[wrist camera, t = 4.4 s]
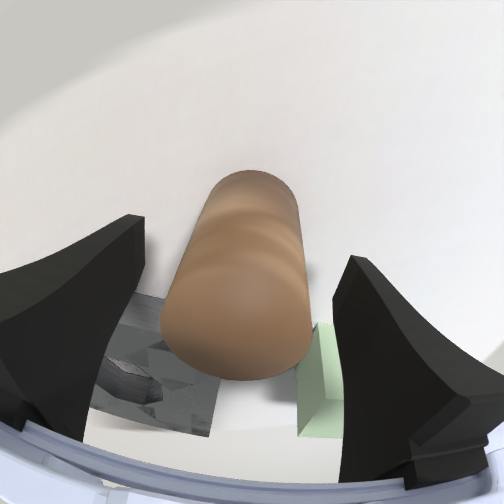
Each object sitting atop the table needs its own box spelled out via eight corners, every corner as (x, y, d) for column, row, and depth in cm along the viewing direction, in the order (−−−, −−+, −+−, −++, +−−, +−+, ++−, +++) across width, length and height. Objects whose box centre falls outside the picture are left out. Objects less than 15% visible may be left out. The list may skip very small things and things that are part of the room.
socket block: (232, 312, 17) (226, 346, 15) (212, 412, 24) (208, 437, 22) (41, 269, 17) (21, 294, 15) (77, 377, 23) (68, 399, 21)
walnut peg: (308, 181, 13) (334, 294, 7) (286, 259, 15) (289, 387, 9) (212, 162, 13) (158, 262, 7) (201, 243, 15) (161, 366, 9)
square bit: (387, 330, 18) (407, 400, 14) (358, 374, 20) (368, 437, 16) (317, 321, 18) (325, 398, 13) (296, 368, 20) (297, 436, 16)
